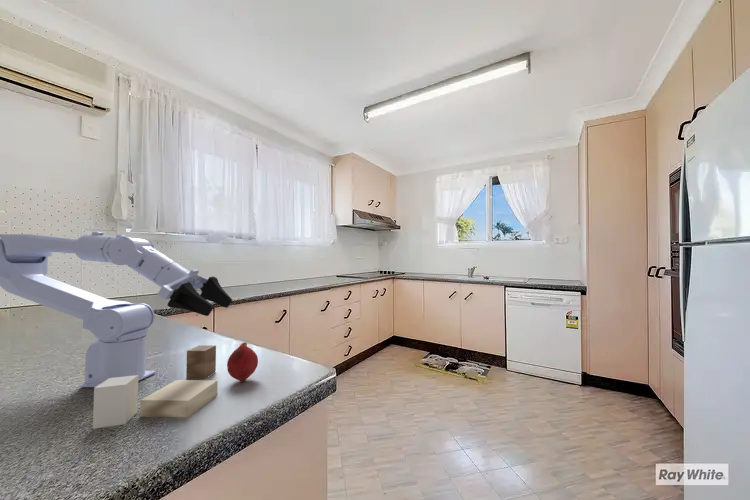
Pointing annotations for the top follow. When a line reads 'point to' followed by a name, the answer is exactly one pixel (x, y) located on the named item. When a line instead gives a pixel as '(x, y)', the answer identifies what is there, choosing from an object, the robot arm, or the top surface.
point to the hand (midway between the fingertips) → (220, 307)
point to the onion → (242, 362)
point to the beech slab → (178, 398)
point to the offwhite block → (115, 401)
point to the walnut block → (201, 362)
